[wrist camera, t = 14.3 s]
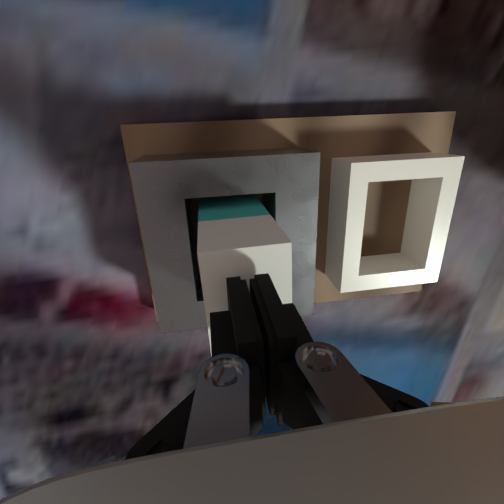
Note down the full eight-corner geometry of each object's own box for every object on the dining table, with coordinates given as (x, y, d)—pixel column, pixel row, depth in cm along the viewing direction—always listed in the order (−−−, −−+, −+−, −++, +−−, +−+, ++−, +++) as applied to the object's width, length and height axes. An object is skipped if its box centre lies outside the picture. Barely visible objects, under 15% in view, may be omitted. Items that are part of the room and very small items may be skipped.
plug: (252, 191, 21) (291, 242, 12) (256, 258, 23) (292, 346, 14) (198, 195, 21) (197, 253, 11) (207, 263, 23) (212, 359, 13)
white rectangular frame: (431, 152, 22) (464, 156, 19) (411, 264, 25) (437, 281, 23) (331, 158, 21) (351, 163, 18) (324, 274, 24) (340, 292, 22)
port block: (299, 147, 20) (320, 152, 17) (296, 285, 24) (313, 314, 21) (142, 155, 19) (128, 162, 16) (166, 300, 23) (160, 333, 20)
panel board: (440, 111, 22) (456, 111, 21) (410, 282, 28) (420, 290, 26) (125, 124, 20) (119, 124, 18) (159, 311, 25) (156, 321, 24)
